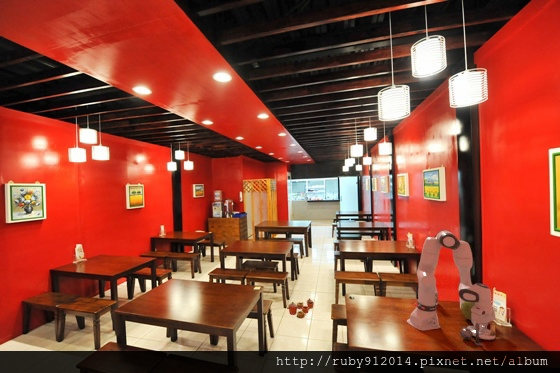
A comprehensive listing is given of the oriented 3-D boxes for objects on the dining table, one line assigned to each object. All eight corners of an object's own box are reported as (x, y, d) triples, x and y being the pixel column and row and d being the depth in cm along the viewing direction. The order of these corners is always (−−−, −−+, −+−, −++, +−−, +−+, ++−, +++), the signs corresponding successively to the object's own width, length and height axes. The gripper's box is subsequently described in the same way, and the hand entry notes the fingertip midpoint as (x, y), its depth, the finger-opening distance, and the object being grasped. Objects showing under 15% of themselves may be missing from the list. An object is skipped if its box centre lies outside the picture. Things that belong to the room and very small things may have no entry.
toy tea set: (302, 320, 194) (301, 308, 194) (285, 315, 202) (285, 303, 202) (316, 307, 215) (316, 295, 215) (301, 302, 224) (300, 292, 224)
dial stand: (479, 346, 156) (478, 325, 156) (471, 342, 160) (471, 322, 160) (483, 345, 158) (482, 324, 158) (475, 341, 162) (475, 321, 162)
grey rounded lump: (474, 337, 163) (471, 342, 161) (463, 333, 168) (461, 338, 166) (471, 329, 162) (468, 335, 160) (460, 326, 167) (458, 331, 165)
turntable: (486, 342, 158) (485, 331, 159) (461, 330, 172) (461, 319, 172) (500, 336, 164) (500, 325, 164) (475, 325, 178) (475, 315, 178)
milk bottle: (425, 302, 217) (424, 279, 217) (433, 301, 218) (433, 278, 218) (431, 306, 210) (430, 282, 210) (440, 305, 210) (439, 282, 210)
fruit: (484, 318, 189) (484, 298, 189) (491, 327, 176) (490, 306, 176) (459, 314, 196) (458, 295, 196) (463, 323, 183) (463, 302, 183)
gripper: (487, 303, 177) (488, 322, 176) (468, 309, 169) (469, 329, 169) (498, 307, 171) (498, 327, 171) (479, 313, 163) (480, 334, 163)
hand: (484, 328), depth 170 cm, fingers closed
